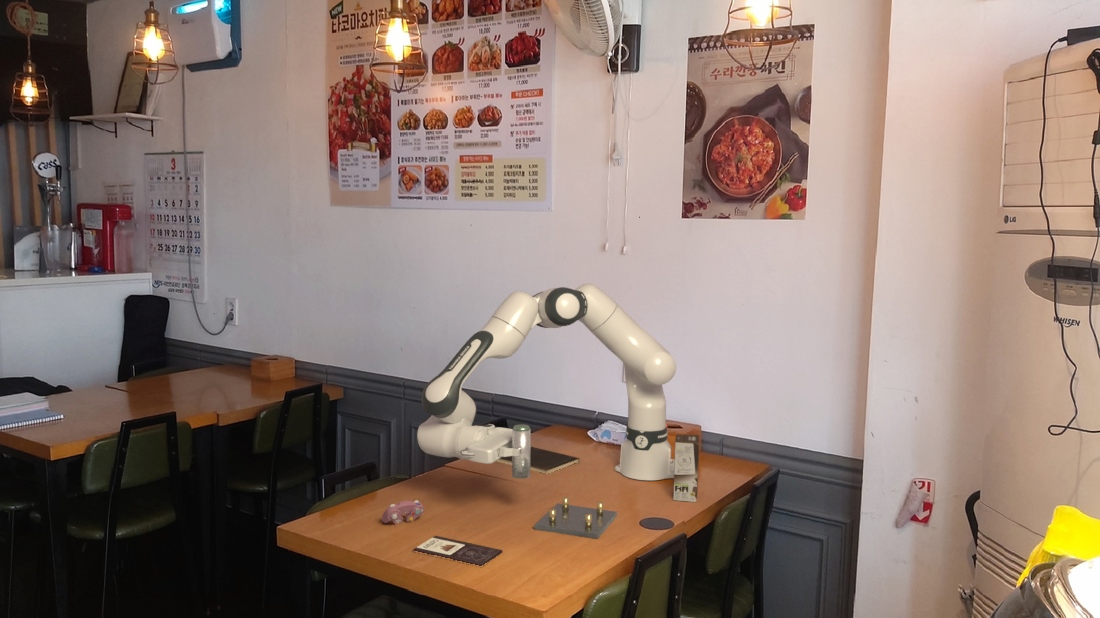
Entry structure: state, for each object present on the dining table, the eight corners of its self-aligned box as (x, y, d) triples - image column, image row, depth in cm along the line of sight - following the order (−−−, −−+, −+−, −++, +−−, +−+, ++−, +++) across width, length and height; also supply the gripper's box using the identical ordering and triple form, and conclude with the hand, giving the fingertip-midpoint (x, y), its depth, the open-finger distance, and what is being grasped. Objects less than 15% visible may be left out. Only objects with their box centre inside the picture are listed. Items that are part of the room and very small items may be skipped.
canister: (516, 472, 209) (516, 423, 208) (533, 474, 207) (533, 425, 206) (509, 477, 205) (509, 427, 203) (526, 479, 203) (526, 429, 202)
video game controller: (384, 532, 197) (388, 512, 194) (379, 519, 201) (383, 498, 197) (423, 526, 202) (427, 505, 199) (418, 512, 205) (422, 492, 202)
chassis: (557, 507, 211) (557, 492, 211) (616, 516, 205) (617, 500, 205) (534, 529, 196) (534, 512, 196) (597, 539, 190) (597, 521, 190)
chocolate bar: (481, 565, 174) (412, 549, 182) (481, 569, 174) (412, 553, 182) (502, 550, 182) (435, 535, 190) (502, 554, 182) (435, 539, 190)
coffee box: (697, 502, 216) (699, 443, 214) (672, 500, 217) (674, 441, 216) (698, 491, 225) (699, 434, 223) (674, 489, 226) (676, 433, 224)
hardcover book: (546, 477, 238) (546, 469, 238) (489, 461, 253) (489, 454, 253) (579, 464, 251) (579, 457, 251) (523, 450, 265) (523, 443, 265)
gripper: (456, 441, 200) (507, 447, 195) (492, 422, 219) (539, 427, 214) (456, 466, 201) (507, 473, 196) (492, 445, 220) (539, 450, 215)
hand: (524, 449), depth 205 cm, fingers closed on canister, 5 cm apart
